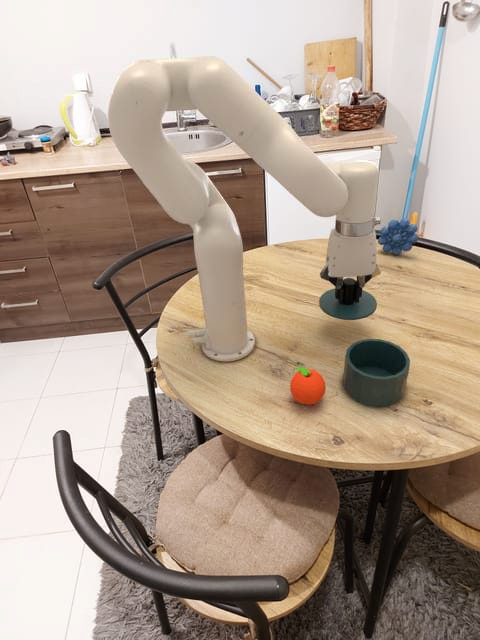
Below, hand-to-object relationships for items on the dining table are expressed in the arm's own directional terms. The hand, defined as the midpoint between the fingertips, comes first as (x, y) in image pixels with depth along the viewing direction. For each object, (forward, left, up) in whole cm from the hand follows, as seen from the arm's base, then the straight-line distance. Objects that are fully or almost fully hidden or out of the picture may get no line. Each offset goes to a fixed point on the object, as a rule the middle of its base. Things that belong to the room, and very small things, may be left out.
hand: (347, 299), depth 98 cm
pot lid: (0, 0, -1) cm, 1 cm away
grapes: (+24, +38, -9) cm, 46 cm away
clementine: (-12, -21, -9) cm, 26 cm away
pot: (+2, -19, -9) cm, 21 cm away
